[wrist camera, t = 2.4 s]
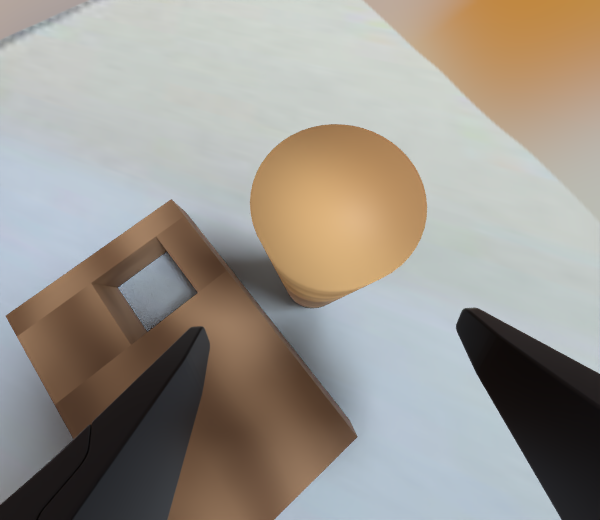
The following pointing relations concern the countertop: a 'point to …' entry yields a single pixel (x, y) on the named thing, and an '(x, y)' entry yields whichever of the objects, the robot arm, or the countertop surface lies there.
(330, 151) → the oak peg
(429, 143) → the countertop surface
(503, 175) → the countertop surface
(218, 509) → the walnut board
